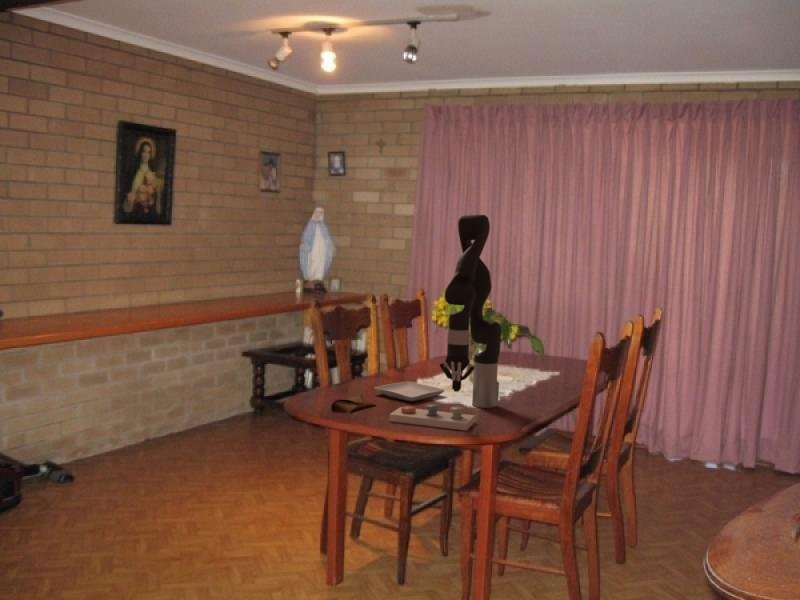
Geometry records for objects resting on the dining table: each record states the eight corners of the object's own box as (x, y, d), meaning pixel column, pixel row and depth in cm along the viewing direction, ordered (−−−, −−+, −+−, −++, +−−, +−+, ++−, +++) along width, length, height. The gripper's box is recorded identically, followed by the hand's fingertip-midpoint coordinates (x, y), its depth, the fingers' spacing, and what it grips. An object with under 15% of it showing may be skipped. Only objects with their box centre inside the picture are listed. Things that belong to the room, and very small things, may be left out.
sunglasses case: (348, 413, 286) (342, 396, 287) (335, 420, 290) (329, 403, 291) (378, 405, 301) (371, 389, 302) (365, 411, 304) (358, 395, 306)
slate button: (435, 413, 282) (435, 403, 282) (442, 417, 277) (442, 406, 277) (422, 415, 280) (422, 404, 279) (429, 418, 275) (429, 407, 275)
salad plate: (445, 397, 320) (446, 388, 320) (411, 405, 304) (412, 396, 304) (407, 388, 334) (407, 380, 334) (372, 395, 318) (372, 387, 318)
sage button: (459, 416, 279) (460, 406, 279) (467, 420, 274) (467, 409, 274) (446, 417, 277) (447, 407, 276) (454, 421, 272) (454, 410, 272)
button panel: (474, 422, 280) (474, 415, 280) (466, 430, 269) (466, 423, 268) (400, 413, 289) (400, 406, 289) (389, 421, 278) (389, 414, 277)
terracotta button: (411, 415, 285) (411, 405, 285) (417, 419, 280) (418, 409, 280) (398, 417, 283) (398, 406, 282) (404, 420, 278) (405, 410, 278)
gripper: (479, 342, 274) (477, 390, 276) (443, 339, 279) (441, 387, 281) (474, 345, 267) (472, 395, 269) (437, 342, 272) (435, 391, 274)
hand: (456, 391), depth 275 cm, fingers closed
